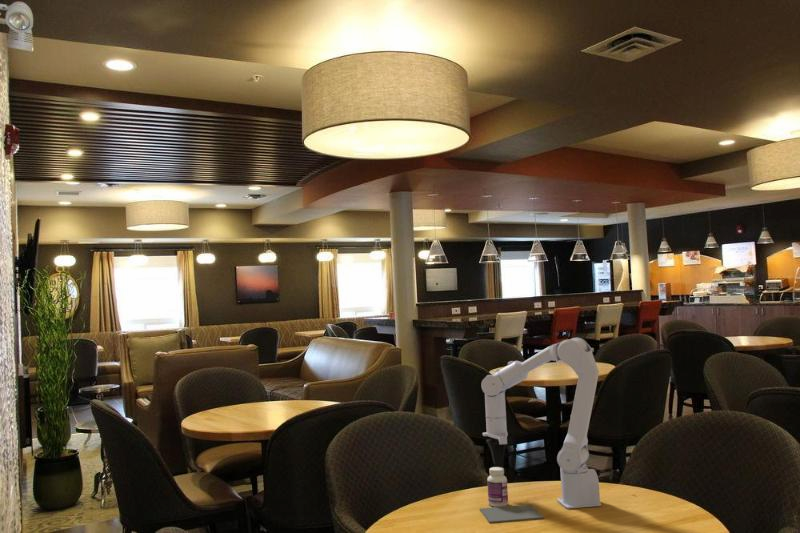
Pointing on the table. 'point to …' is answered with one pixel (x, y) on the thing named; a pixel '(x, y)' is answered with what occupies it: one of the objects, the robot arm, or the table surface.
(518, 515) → the mat
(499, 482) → the pill bottle
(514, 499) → the table surface
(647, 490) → the table surface
